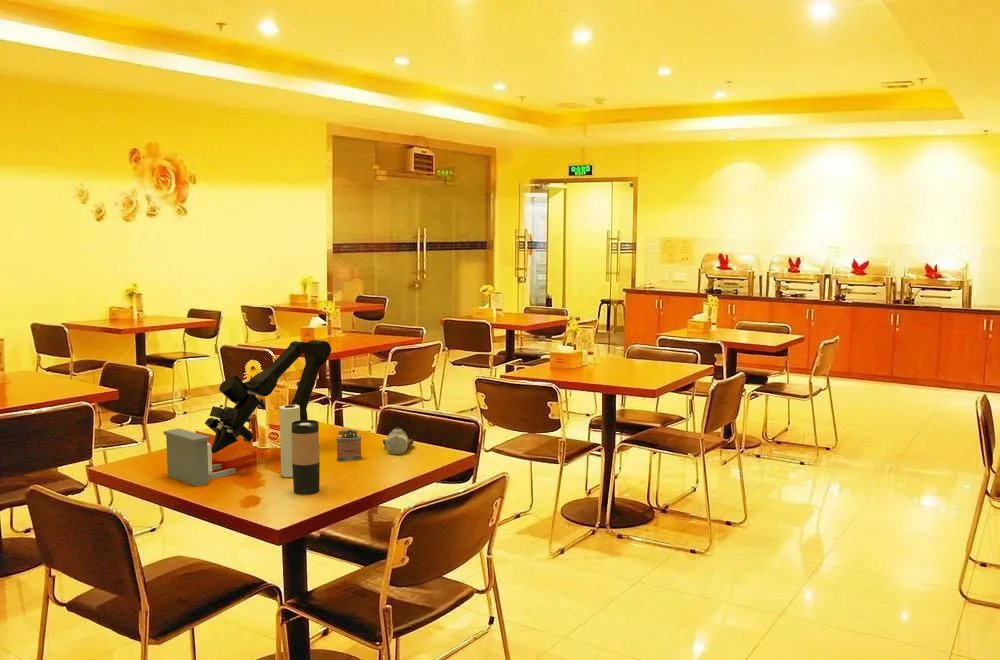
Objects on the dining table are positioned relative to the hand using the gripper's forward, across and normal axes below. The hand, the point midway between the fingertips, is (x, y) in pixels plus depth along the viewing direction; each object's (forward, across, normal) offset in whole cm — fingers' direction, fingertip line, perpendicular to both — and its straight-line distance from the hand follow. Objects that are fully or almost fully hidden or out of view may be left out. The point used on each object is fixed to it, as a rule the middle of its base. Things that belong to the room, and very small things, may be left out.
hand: (212, 452), depth 263 cm
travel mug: (0, +36, +10) cm, 38 cm away
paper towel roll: (-6, +19, +16) cm, 25 cm away
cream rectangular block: (+8, 0, +2) cm, 8 cm away
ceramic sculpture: (-34, +22, +45) cm, 61 cm away
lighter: (-22, +18, +32) cm, 43 cm away
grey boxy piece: (+7, 0, +3) cm, 7 cm away
